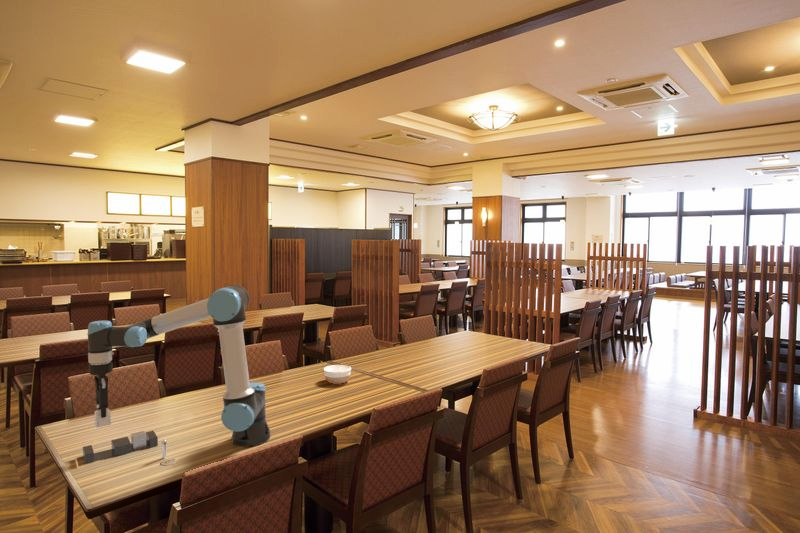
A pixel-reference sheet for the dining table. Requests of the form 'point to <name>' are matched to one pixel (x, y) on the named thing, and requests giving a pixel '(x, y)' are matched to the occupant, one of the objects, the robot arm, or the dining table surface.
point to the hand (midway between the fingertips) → (102, 423)
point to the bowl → (337, 373)
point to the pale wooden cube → (98, 418)
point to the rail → (118, 448)
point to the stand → (165, 454)
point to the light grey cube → (138, 440)
